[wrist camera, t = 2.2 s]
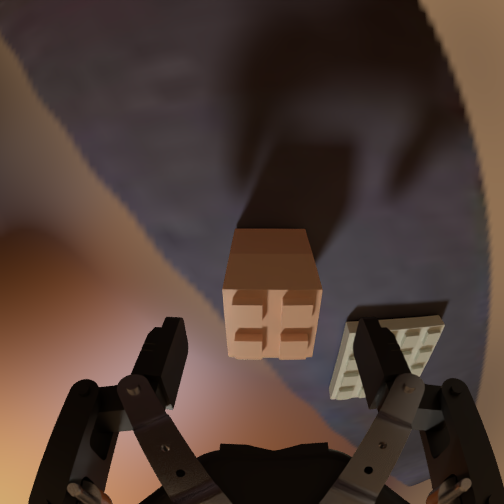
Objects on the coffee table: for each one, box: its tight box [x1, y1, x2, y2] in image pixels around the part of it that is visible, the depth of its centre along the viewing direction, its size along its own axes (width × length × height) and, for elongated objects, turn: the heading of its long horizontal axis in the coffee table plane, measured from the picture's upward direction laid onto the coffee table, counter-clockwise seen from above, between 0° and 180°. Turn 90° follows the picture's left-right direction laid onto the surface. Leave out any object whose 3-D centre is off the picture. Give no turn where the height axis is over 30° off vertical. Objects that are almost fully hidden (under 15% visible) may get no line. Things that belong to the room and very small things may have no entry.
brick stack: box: [222, 229, 322, 360], centre depth 15 cm, size 4×4×6 cm
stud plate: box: [329, 315, 445, 400], centre depth 21 cm, size 8×8×2 cm
